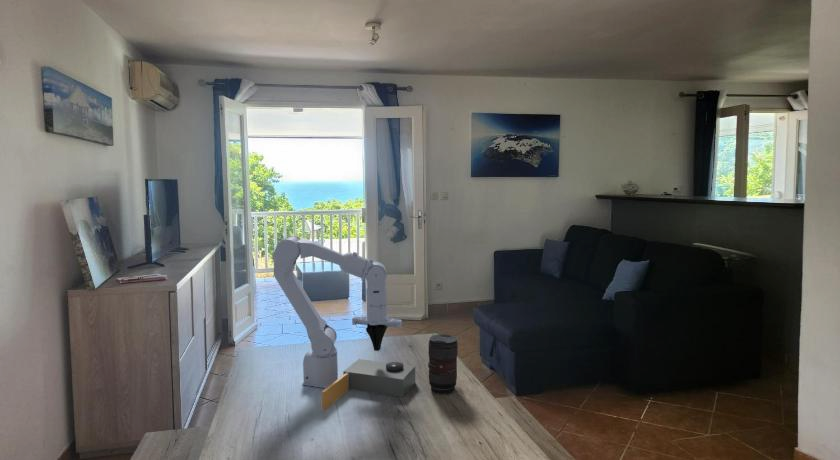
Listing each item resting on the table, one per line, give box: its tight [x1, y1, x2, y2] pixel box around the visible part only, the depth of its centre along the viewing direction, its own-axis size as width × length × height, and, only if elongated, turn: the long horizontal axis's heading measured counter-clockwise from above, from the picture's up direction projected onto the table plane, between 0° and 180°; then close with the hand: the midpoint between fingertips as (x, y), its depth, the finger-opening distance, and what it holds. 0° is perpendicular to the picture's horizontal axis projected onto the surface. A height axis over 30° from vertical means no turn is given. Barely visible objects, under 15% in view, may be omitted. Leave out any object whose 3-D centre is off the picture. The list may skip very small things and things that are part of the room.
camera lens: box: [427, 333, 459, 395], centre depth 146 cm, size 8×8×15 cm
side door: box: [321, 372, 350, 410], centre depth 140 cm, size 14×1×5 cm, turn 159°
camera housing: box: [342, 358, 416, 398], centre depth 149 cm, size 18×10×6 cm, turn 71°
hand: (377, 349), depth 152 cm, fingers closed
